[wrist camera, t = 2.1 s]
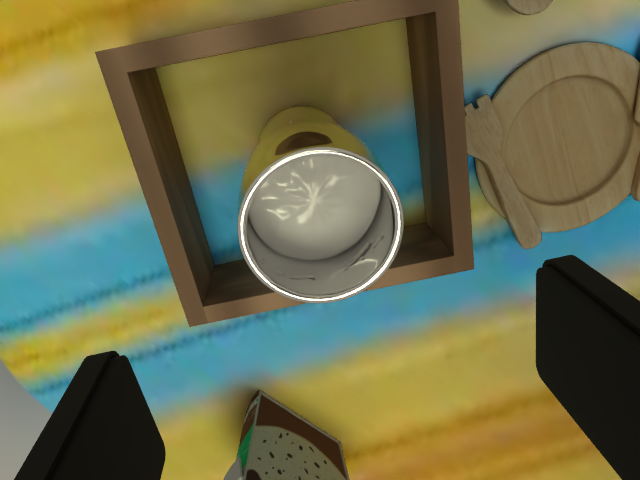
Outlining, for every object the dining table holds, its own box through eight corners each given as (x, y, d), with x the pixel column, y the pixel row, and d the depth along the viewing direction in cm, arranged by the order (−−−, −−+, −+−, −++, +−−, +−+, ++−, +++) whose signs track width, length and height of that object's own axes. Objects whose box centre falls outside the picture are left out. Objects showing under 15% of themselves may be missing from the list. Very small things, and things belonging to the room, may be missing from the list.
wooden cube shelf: (422, -8, 29) (457, -20, 24) (443, 234, 36) (474, 268, 30) (129, 50, 29) (95, 51, 23) (202, 283, 35) (189, 326, 30)
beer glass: (370, 127, 32) (442, 188, 18) (325, 215, 34) (358, 330, 20) (276, 80, 30) (276, 108, 17) (235, 176, 33) (204, 272, 19)
